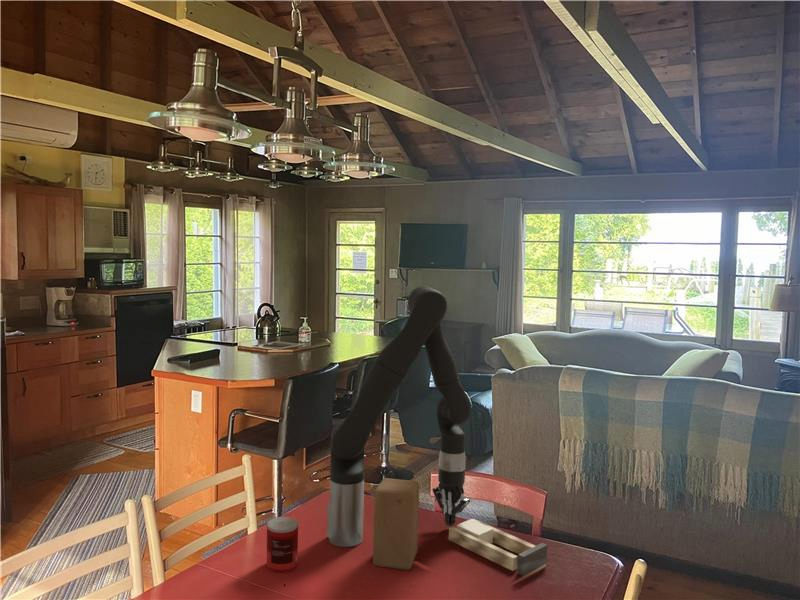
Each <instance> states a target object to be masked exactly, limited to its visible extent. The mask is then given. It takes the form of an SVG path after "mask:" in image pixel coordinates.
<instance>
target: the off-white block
mask: <svg viewBox="0 0 800 600" xmlns="http://www.w3.org/2000/svg"><path fill="white" fill-rule="evenodd" d="M472 519H473V518H470V519H467V520H465V521H463V522H461V523H458V524H456V528H457V529H460V530H462V531H464V532H466V533H468V534H470V535H472V536H475V537H477V538H479V539H481V540H483V541H485V542H488V543H490V544H492V545H493V544H494V543H493V528H490V527H488V526H486V525H483V524H481V523H479V522H477V521H474V520H472Z"/></svg>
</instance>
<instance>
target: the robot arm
mask: <svg viewBox="0 0 800 600" xmlns="http://www.w3.org/2000/svg"><path fill="white" fill-rule="evenodd" d="M407 305H408V306H407V307H408V309H409V311H410V312H409V313H410V314H409V316H408V317H407V318H408V319H407V320H406V322H405V324H404V325H403V327H402V329H401V330H400V332H399V333H398V334H397V335H396V336H395V337H394V338H393V339H392V340H391V341H390V342H389V343H388V344H387V345H386V346H385V347H384V348H383V349H382V350H381V351H380V353H379V354H378V355H377V357H376V359H375V360H374V362H373V363H372V366H371V367H370V368H369V370H368V372H367V375H366V377H365V379H364V380H363V384H362V386H361V388H360V391H359V394H358V396H357V399H356V402H355V403H354V405H353V407H352V409H351V411H350V412H349V413H348V415H347V417H345V418H343V419H340V420H339V421H337V422H336V423H335V424H334V425H333V427H332V430H331V433H330V434H331V435H330V471H329V472H330V473H329V474H330V475H329V477H330V479H329V502H328V503H327V524H326V525H327V528H326V529H327V532H326V533H327V535H326V536H327V538H328V540H329V543H330V544H331V545H333V546H336V547H341V548H350V547H355V546H358V545H360V544H361V543H362V542H363V540H364V539H363V535H364V534H363V533H364V528H363V527H364V498H365V493H364V492H365V447H366V444H367V443H368V440H369V438H370V436H371V434H372V432H373V429H374V428H375V425H376V423H377V421H378V419H379V418H380V416H381V415H382V414H383V412H384V410H385V409H386V408H387V407H388V405H389V403H390V402H391V400H392V399H393V398H394V395H395V394H396V393H397V391H398V389H400V386H401V385H402V384H403V382H404V380H405V378H406V376H407V375H408V373H409V371H410V370H411V367H412V365H413V364H414V362H415V360H416V358H417V357H418V355H419V354H420V352H421V350H422V348H423V347H424V349H425V353H426V356H427V360H428V364H429V368H430V372H431V376H432V379H433V383H434V387H435V389H436V390H437V392H438V393H439V394H441V396H442V397H440V399H439V400H438V403H437V405H436V416H437V423H438V429H439V432H440V433H439V434H440V444H439V445H440V448H439V449H440V450H439V455H438V474H437V475H438V476H437V477H438V479H437V480H438V486H437V487H434V488H432V493H433V495H434V498H435V499H436V502H437V504H438V507H439V508H440V509H443V511H444V523H445V526H447V527H454V525H455V524H456V517H457V516H456V515H457V514H459V513H462V511H464V510H465V508H466V507H467V506H468V504H470V503H471V499H470V498H469V497H467V496H466V495H465V490H464V485H465V481H466V434H465V432H464V431H463V429H462V428H461V427H460V425H463V424H465V423H467V422H468V421H469V419H470V417H471V415H472V405H471V402H470V399H469V397H468V395H467V392H466V391H465V388H464V386H463V385H462V384H461V381H460V377H459V373H458V370H457V365H456V362H455V359H454V356H453V354H452V351H451V349H450V347H449V346H450V345H449V344H448V342H447V339H446V337H445V335H444V331H443V328H442V324H441V321H442V320H443V319H444V317H445V315H446V313H447V309H448V302H447V299H446V297H445V296H444V294H442V292H440V291H439V290H437V289H434V288H433V287H431V286H426V285H425V286H424V285H422V286H417V287H416V288H414V289H413V290H412V291H411V292H410V293H409V296H408V300H407Z"/></svg>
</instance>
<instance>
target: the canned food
mask: <svg viewBox="0 0 800 600" xmlns="http://www.w3.org/2000/svg"><path fill="white" fill-rule="evenodd" d="M266 524H267V525H266V566H267V568H268V569H269V570H270V571H271V572H274V573H277V572H278V573H281V574H282V573H288V572H289V573H290V572H292V571H293V570H294V569H295V568H297V565H298V555H299V554H298V553H299V551H298V550H299V545H298V544H299V543H298V542H299V523H298V520H296V519H295V518H292V517H288V516H279V517H275V518H271V519H270V520H269V521H268V522H267V523H266ZM278 573H277V574H278Z"/></svg>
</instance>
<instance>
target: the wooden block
mask: <svg viewBox="0 0 800 600" xmlns="http://www.w3.org/2000/svg"><path fill="white" fill-rule="evenodd" d="M419 502H420V483H419V482H418V481H417V480H410V479H399V478H389V477H384V478H382V480H381V481H380V483H379V484H378V486H377V487H376V489H375V492H374V508H373V509H374V511H373V540H372V541H373V543H372V544H373V545H372V546H373V547H372V563H373V565H374V566H376V567H382V568H383V567H384V568H391V569H397V570H407V571H409V570H411V569H412V566H413V564H414V561H415V559H416V555H417V553H418V536H419V535H418V534H419V533H418V531H419Z"/></svg>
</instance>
